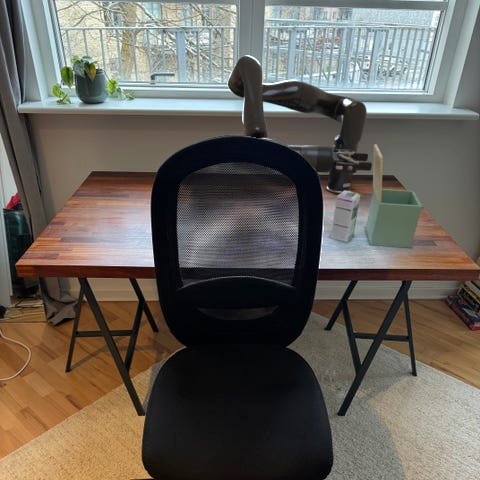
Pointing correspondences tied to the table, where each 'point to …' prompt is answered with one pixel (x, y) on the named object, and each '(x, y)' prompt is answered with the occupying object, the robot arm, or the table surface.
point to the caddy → (393, 218)
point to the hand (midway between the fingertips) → (369, 161)
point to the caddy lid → (377, 172)
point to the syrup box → (345, 215)
